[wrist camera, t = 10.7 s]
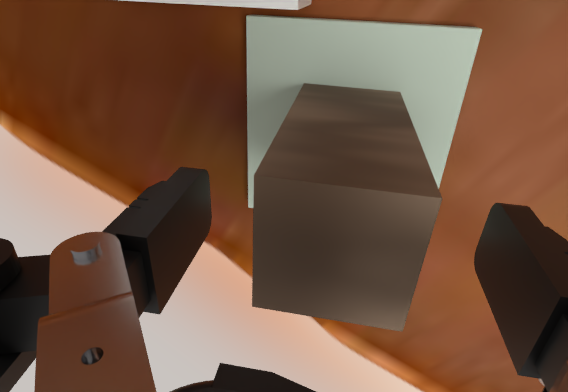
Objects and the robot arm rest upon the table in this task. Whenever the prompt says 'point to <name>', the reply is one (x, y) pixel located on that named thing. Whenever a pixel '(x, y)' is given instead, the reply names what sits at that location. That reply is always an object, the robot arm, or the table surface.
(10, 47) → the table surface
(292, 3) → the pocket holder
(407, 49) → the green mat
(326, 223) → the walnut block
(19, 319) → the robot arm
